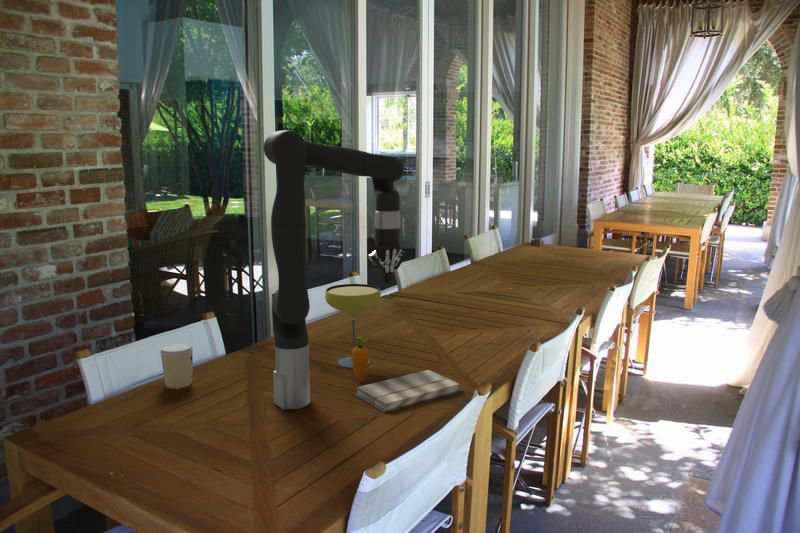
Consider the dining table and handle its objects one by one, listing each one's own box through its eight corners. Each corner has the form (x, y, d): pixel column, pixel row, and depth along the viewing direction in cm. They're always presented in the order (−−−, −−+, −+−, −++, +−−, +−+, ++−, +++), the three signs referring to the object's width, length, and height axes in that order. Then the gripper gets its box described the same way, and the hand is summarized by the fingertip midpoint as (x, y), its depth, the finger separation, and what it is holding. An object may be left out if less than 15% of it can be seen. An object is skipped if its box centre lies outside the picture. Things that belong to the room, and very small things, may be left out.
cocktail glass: (348, 376, 209) (347, 298, 204) (315, 361, 223) (314, 288, 218) (392, 363, 221) (392, 290, 216) (358, 350, 234) (357, 281, 230)
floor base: (384, 413, 181) (384, 404, 180) (353, 395, 194) (353, 386, 193) (462, 391, 197) (463, 382, 196) (429, 375, 209) (429, 368, 209)
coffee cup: (200, 384, 202) (198, 346, 200) (172, 393, 195) (169, 353, 193) (185, 377, 208) (182, 340, 206) (156, 385, 201) (154, 347, 199)
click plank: (374, 403, 186) (374, 396, 186) (357, 393, 194) (357, 387, 193) (446, 384, 201) (446, 377, 201) (428, 375, 208) (428, 369, 208)
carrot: (360, 378, 207) (359, 332, 204) (371, 382, 204) (371, 335, 201) (348, 383, 203) (348, 335, 200) (360, 386, 200) (360, 338, 197)
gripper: (375, 229, 187) (375, 289, 190) (413, 225, 194) (412, 283, 197) (361, 226, 193) (361, 284, 196) (398, 223, 200) (398, 279, 204)
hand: (387, 284), depth 197 cm, fingers closed
